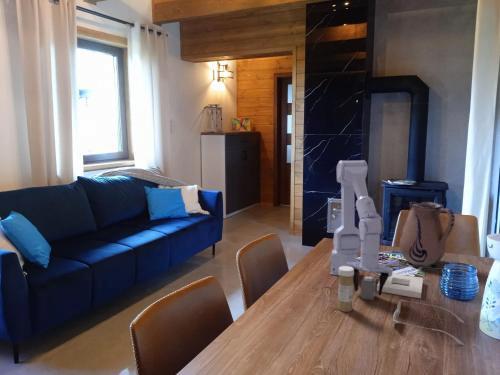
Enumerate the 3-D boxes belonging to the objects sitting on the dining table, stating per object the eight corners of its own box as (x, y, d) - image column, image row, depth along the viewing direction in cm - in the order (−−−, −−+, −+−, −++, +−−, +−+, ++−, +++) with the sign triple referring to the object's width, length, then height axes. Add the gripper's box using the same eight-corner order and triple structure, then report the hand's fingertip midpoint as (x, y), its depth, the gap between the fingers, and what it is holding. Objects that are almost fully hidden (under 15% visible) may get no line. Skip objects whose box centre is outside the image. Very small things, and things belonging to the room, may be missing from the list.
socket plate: (376, 291, 136) (377, 283, 135) (382, 276, 148) (382, 270, 148) (420, 298, 130) (421, 291, 129) (422, 283, 142) (423, 276, 142)
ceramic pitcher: (409, 253, 175) (413, 198, 171) (460, 265, 160) (465, 205, 156) (390, 262, 164) (393, 203, 160) (442, 276, 148) (447, 211, 144)
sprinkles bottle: (346, 304, 126) (347, 264, 124) (355, 310, 122) (357, 269, 120) (334, 307, 124) (335, 266, 122) (343, 313, 120) (345, 271, 118)
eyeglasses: (399, 309, 124) (400, 297, 123) (464, 322, 115) (465, 309, 114) (391, 331, 110) (392, 318, 110) (464, 348, 102) (465, 334, 101)
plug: (360, 298, 130) (361, 279, 129) (362, 293, 134) (363, 275, 133) (373, 300, 129) (374, 281, 128) (375, 295, 132) (375, 277, 131)
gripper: (344, 253, 128) (343, 292, 131) (391, 259, 122) (389, 300, 124) (349, 247, 135) (348, 285, 137) (394, 253, 128) (392, 292, 131)
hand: (368, 292), depth 131 cm, fingers open, 7 cm apart
